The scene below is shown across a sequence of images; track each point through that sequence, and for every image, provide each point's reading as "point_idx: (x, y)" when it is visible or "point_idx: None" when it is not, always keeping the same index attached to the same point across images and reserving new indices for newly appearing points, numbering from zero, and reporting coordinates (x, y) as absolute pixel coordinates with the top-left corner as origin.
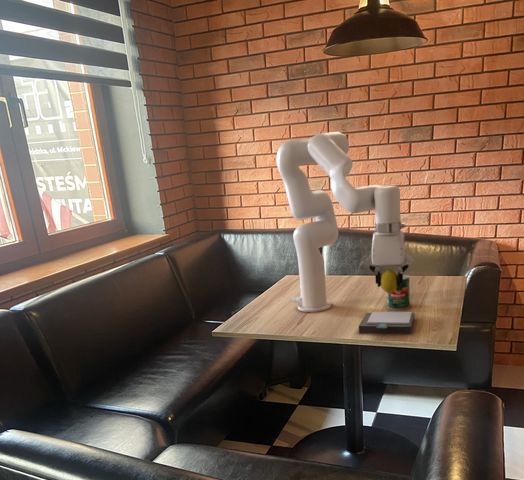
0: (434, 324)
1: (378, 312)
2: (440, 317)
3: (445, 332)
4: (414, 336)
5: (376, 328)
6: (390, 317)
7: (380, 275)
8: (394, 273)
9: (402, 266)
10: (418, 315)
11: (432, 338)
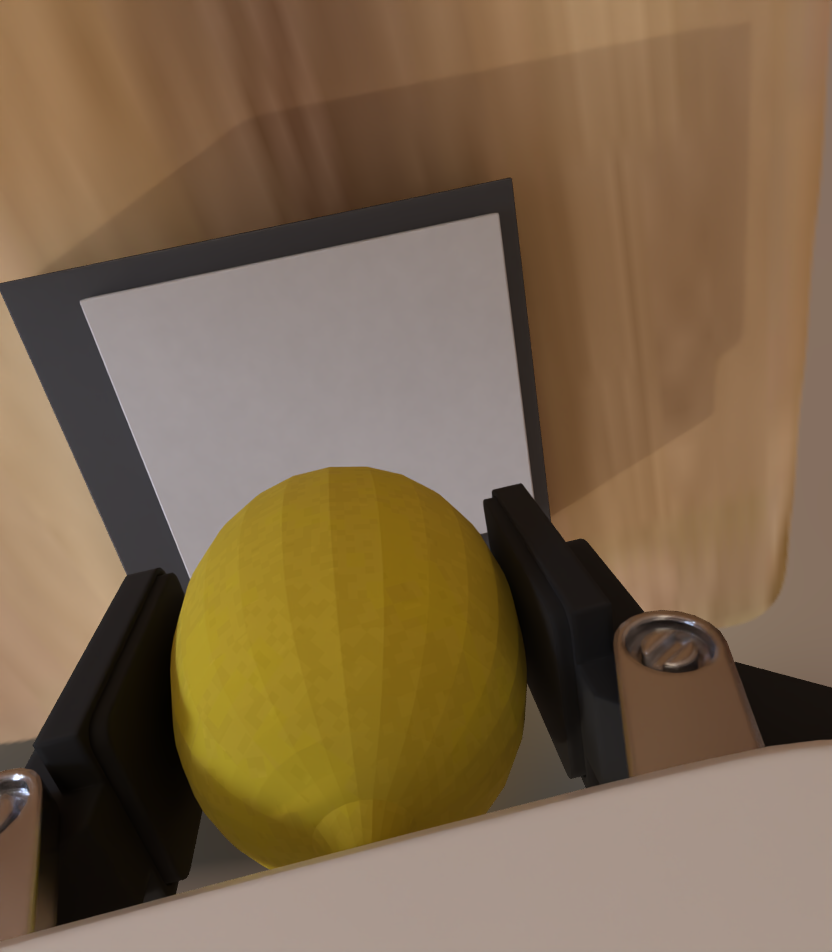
0: (670, 269)
1: (158, 311)
2: (707, 38)
3: (753, 429)
4: None
5: None
6: (347, 440)
7: (144, 747)
8: (504, 782)
9: (753, 738)
10: (493, 5)
11: (679, 555)
